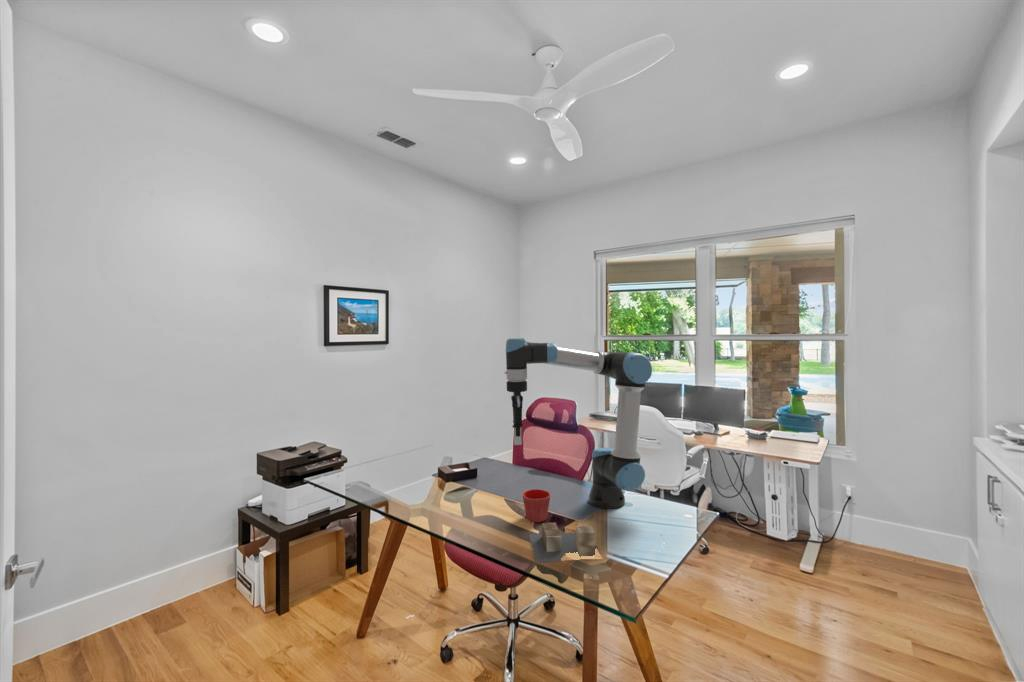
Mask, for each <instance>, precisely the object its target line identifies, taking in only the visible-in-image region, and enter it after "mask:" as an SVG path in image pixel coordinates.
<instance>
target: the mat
mask: <svg viewBox="0 0 1024 682" xmlns="http://www.w3.org/2000/svg"><path fill="white" fill-rule="evenodd" d="M560 534H561V537H562V551H556V552H547V551H546V548H545V545H544V542H543V538H542V533H536V534H534V533H533V534H528V537H529V541H530V545H531V548H532V553H533V557H534V560H535V564H541V563H558V562H562V561H561V558H562V557H563V555H564V553H569V552H570V553H574V552H575V553H576V552H577V550H576V531H572V532H560ZM596 548H597V549H599V547H598V545H597V544H596V543H595V549H596Z"/></svg>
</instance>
